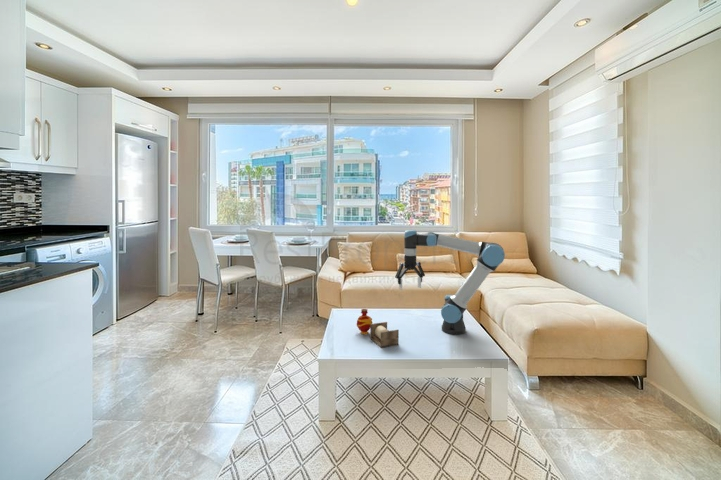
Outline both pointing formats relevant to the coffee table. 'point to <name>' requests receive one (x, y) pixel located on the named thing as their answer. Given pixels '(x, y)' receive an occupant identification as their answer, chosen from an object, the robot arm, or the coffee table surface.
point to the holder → (384, 336)
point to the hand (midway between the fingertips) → (410, 288)
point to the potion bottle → (364, 322)
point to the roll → (379, 330)
